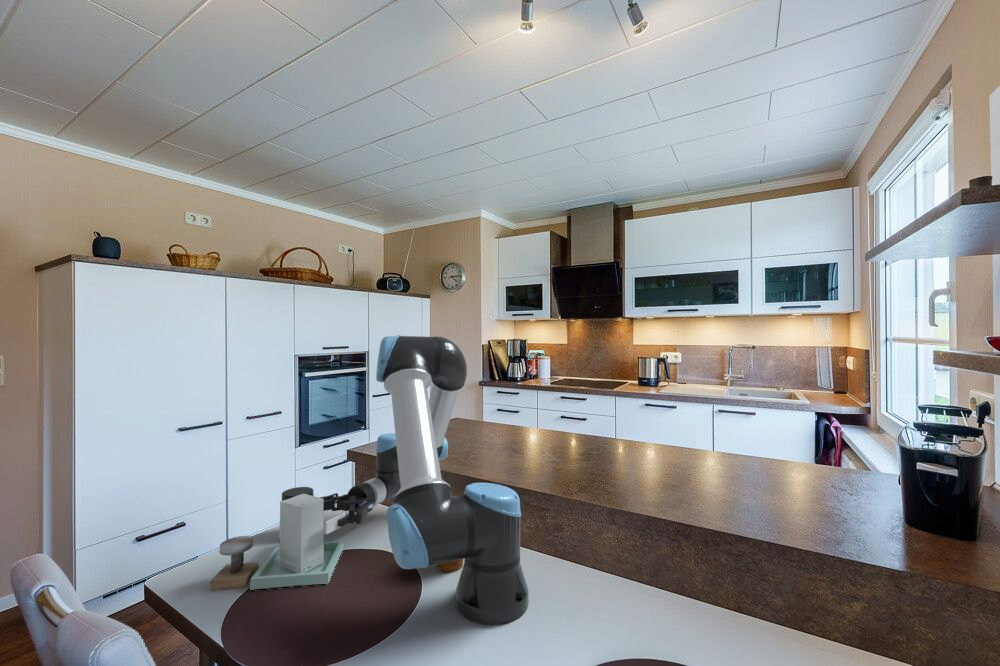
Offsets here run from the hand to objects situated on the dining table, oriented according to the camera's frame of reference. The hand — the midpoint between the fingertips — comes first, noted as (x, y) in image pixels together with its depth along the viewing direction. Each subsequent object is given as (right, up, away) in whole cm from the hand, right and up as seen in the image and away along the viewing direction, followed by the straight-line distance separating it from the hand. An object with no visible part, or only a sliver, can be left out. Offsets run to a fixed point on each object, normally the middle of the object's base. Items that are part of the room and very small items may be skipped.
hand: (304, 523), depth 99 cm
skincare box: (0, -10, -1) cm, 10 cm away
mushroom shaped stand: (-12, -10, -6) cm, 17 cm away
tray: (0, -10, -1) cm, 10 cm away
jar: (-10, -11, +17) cm, 23 cm away
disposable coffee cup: (+35, -11, +1) cm, 37 cm away
